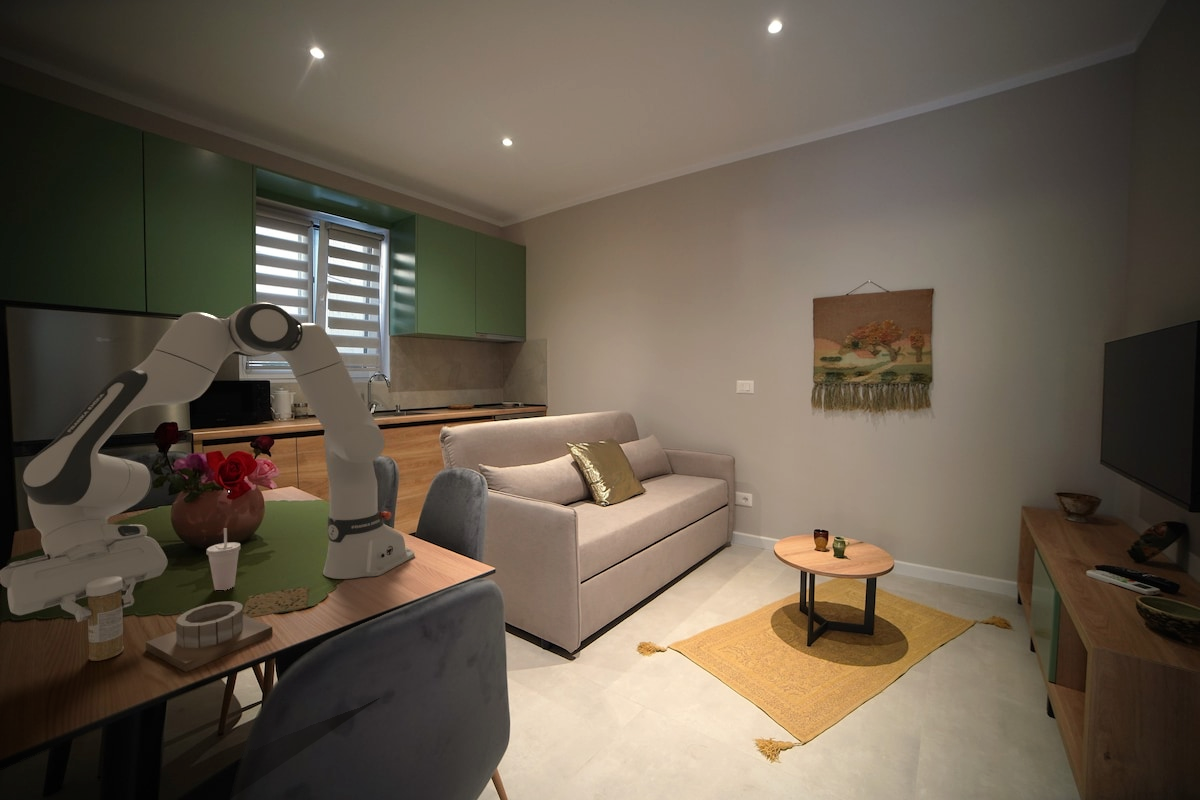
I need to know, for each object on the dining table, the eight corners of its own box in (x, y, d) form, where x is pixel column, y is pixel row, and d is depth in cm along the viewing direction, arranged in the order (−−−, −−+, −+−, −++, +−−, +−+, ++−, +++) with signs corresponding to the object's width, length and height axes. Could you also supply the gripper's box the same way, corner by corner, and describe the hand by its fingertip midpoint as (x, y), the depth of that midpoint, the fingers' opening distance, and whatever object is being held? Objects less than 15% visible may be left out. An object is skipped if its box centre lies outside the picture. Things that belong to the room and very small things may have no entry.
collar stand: (232, 617, 103) (231, 591, 103) (272, 634, 97) (272, 606, 96) (146, 650, 90) (145, 620, 90) (186, 672, 84) (185, 640, 84)
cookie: (238, 622, 102) (238, 617, 102) (247, 598, 112) (247, 594, 112) (307, 609, 107) (307, 605, 107) (309, 588, 118) (309, 584, 118)
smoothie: (223, 594, 113) (221, 533, 112) (199, 591, 114) (198, 531, 114) (248, 583, 119) (247, 525, 119) (226, 580, 121) (224, 523, 120)
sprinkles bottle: (87, 655, 88) (84, 580, 88) (122, 645, 92) (120, 573, 91) (90, 665, 86) (87, 588, 85) (126, 654, 89) (124, 580, 88)
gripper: (-1, 555, 82) (24, 628, 78) (155, 523, 100) (182, 581, 96) (-9, 577, 84) (15, 649, 80) (145, 541, 102) (171, 598, 98)
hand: (107, 611), depth 88 cm, fingers closed on sprinkles bottle, 4 cm apart
